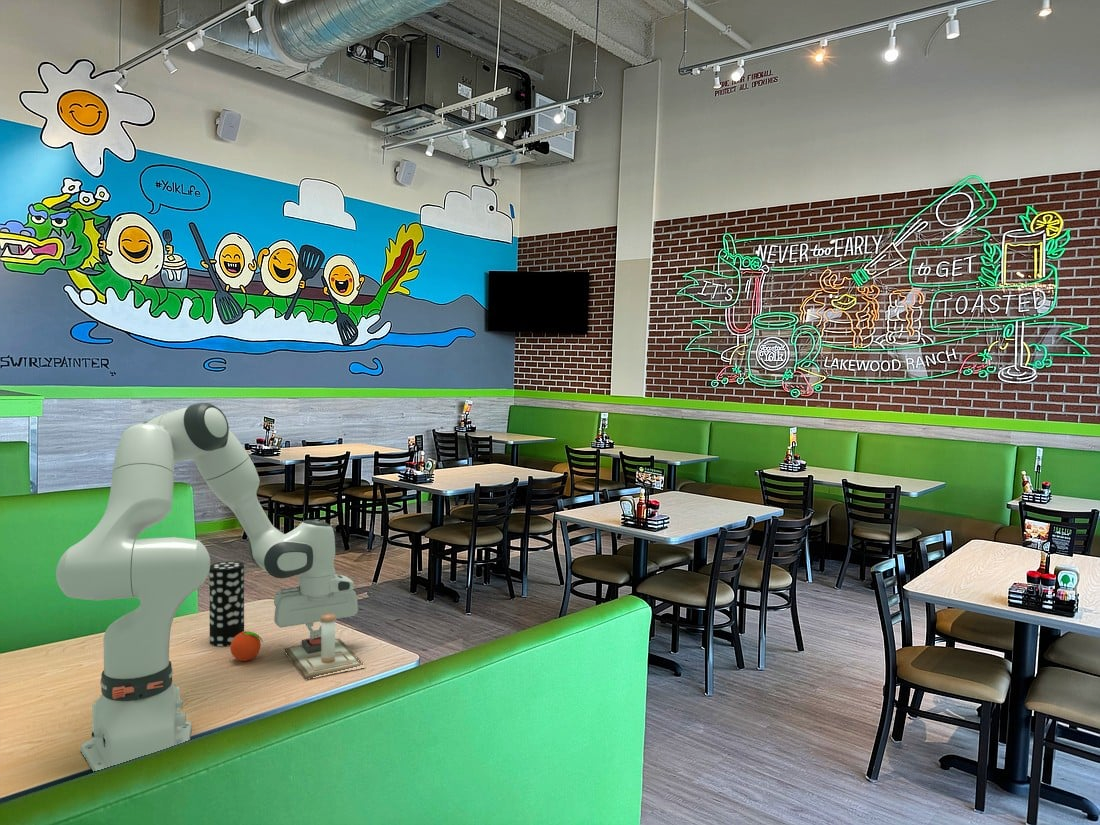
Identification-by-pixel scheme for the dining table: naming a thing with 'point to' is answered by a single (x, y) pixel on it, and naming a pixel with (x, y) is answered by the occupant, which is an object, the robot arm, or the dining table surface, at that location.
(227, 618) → the spotted tube
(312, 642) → the button
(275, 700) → the dining table surface
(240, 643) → the clementine
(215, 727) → the dining table surface
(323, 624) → the cylinder
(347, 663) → the board
